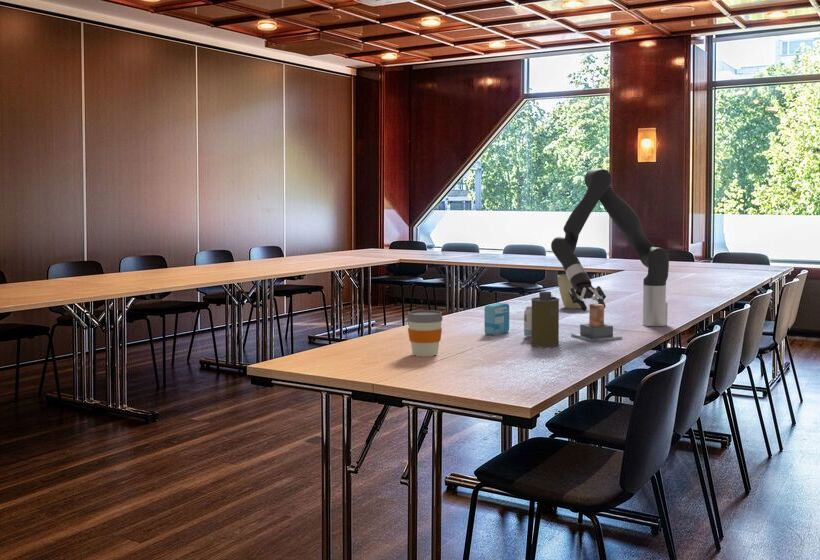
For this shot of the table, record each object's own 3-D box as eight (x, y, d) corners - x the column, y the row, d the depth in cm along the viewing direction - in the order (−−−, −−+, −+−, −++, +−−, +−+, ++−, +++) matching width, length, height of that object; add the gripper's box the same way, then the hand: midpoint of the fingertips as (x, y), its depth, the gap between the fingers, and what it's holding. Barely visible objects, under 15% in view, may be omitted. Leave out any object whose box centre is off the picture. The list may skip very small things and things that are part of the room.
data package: (493, 336, 334) (493, 306, 333) (484, 335, 337) (484, 305, 336) (509, 332, 343) (509, 303, 342) (500, 331, 346) (500, 302, 345)
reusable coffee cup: (420, 349, 306) (420, 309, 304) (449, 353, 299) (449, 311, 297) (400, 355, 296) (399, 313, 294) (430, 359, 288) (429, 316, 287)
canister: (549, 348, 305) (549, 294, 304) (525, 345, 313) (525, 292, 311) (565, 344, 313) (565, 291, 311) (541, 341, 320) (542, 289, 318)
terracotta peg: (597, 333, 330) (598, 303, 329) (603, 335, 326) (604, 304, 325) (589, 334, 328) (589, 304, 327) (595, 336, 325) (595, 305, 323)
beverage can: (541, 339, 325) (541, 308, 324) (523, 338, 327) (523, 308, 325) (542, 336, 332) (542, 306, 331) (524, 336, 333) (524, 306, 332)
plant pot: (557, 309, 409) (557, 277, 407) (556, 305, 423) (556, 274, 422) (588, 309, 407) (589, 277, 405) (586, 305, 421) (586, 274, 420)
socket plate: (601, 333, 336) (601, 321, 336) (622, 339, 323) (622, 326, 323) (571, 336, 331) (571, 323, 331) (591, 341, 318) (591, 328, 318)
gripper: (566, 272, 332) (583, 304, 322) (596, 270, 337) (613, 302, 328) (559, 284, 337) (575, 316, 328) (589, 282, 342) (605, 313, 333)
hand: (594, 309), depth 328 cm, fingers open, 8 cm apart
